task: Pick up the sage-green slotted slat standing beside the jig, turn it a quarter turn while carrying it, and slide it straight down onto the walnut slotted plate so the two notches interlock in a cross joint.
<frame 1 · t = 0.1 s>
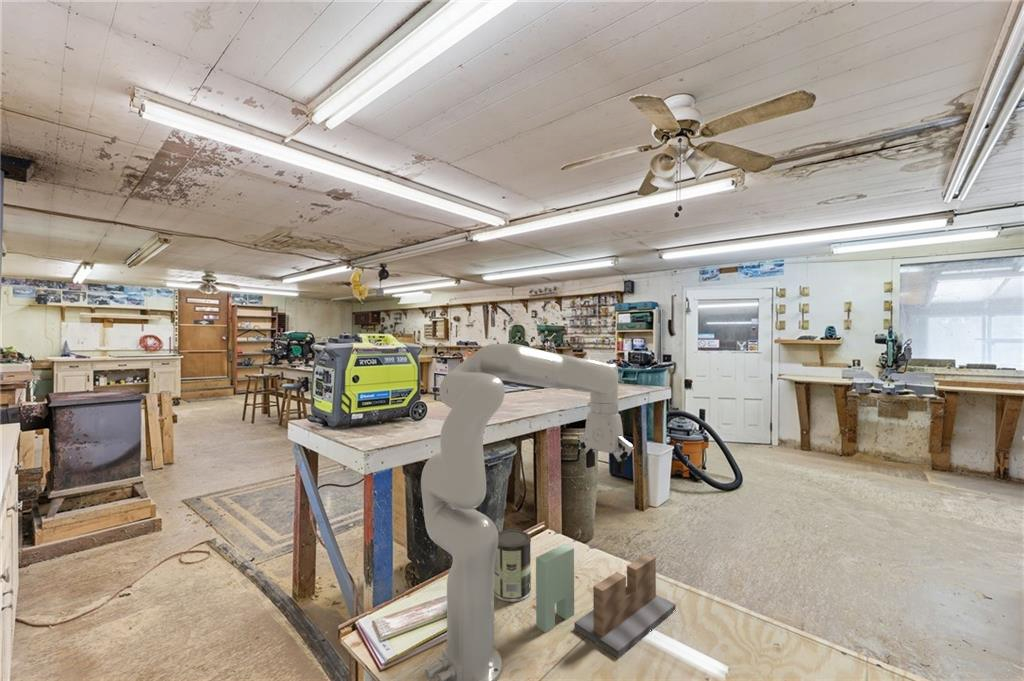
hand: (604, 470, 114), 31 cm above the table, tool pointing down, fingers open, 9 cm apart
coffee can: (511, 591, 111), on the table
green slat: (555, 620, 99), on the table
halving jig: (626, 619, 99), on the table
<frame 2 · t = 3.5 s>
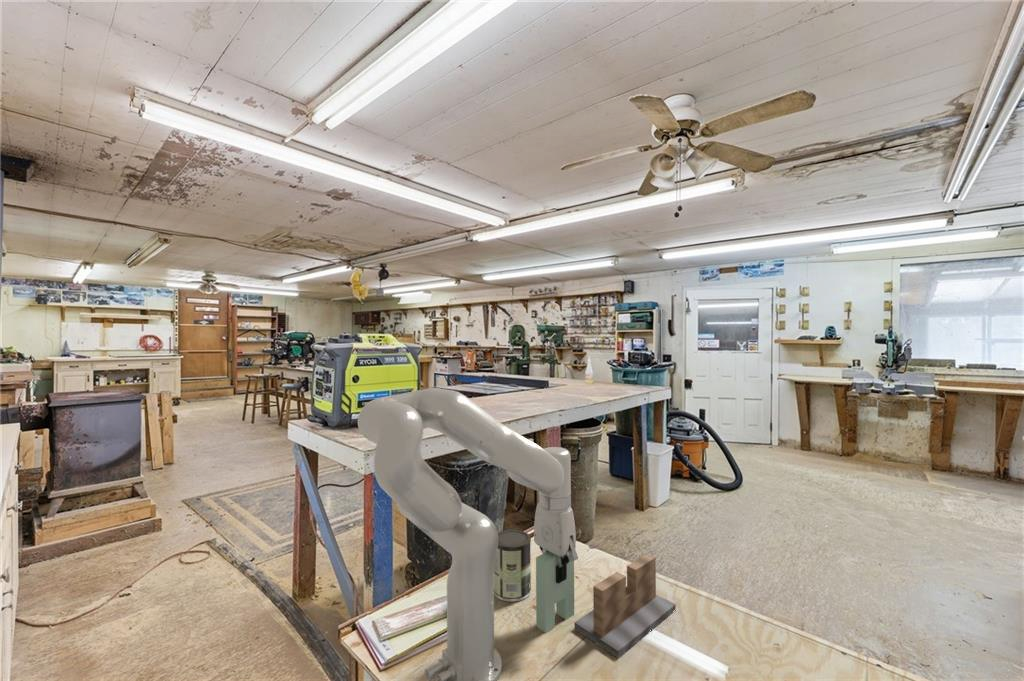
hand: (555, 577, 99), 10 cm above the table, tool pointing down, fingers closed on green slat, 3 cm apart
green slat: (555, 620, 99), on the table, touching gripper
everything else where it was.
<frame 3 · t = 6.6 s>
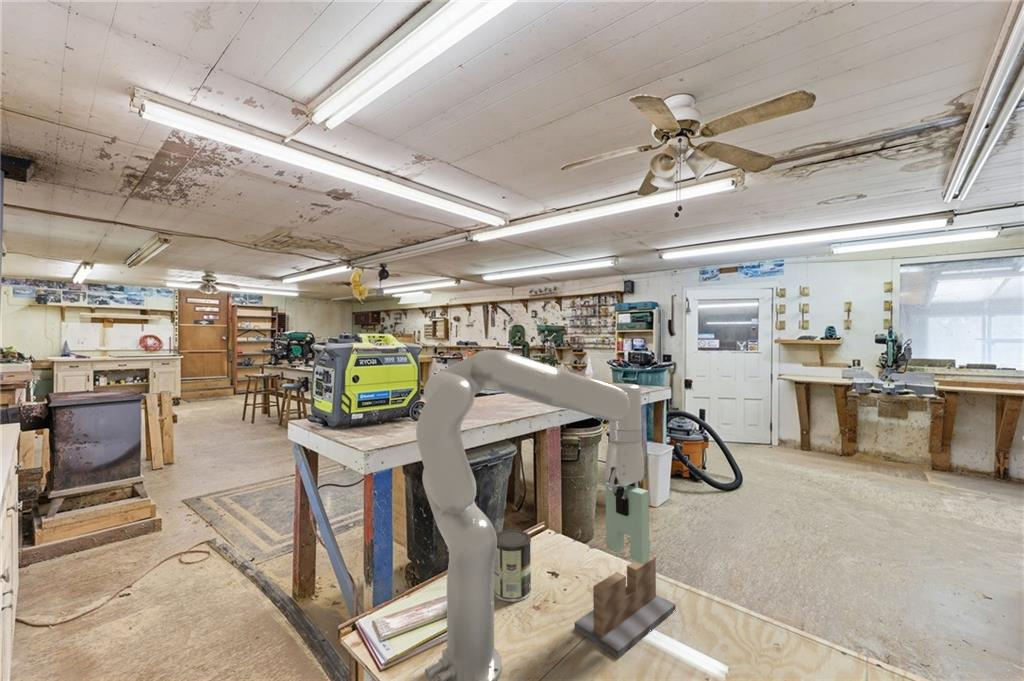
hand: (626, 511, 100), 26 cm above the table, tool pointing down, fingers closed on green slat, 3 cm apart
green slat: (627, 553, 100), point 16 cm above the table, touching gripper
everything else where it was.
when the fingers open (13 cm above the table, at t = 9.9 s): green slat drops 2 cm, resting on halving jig.
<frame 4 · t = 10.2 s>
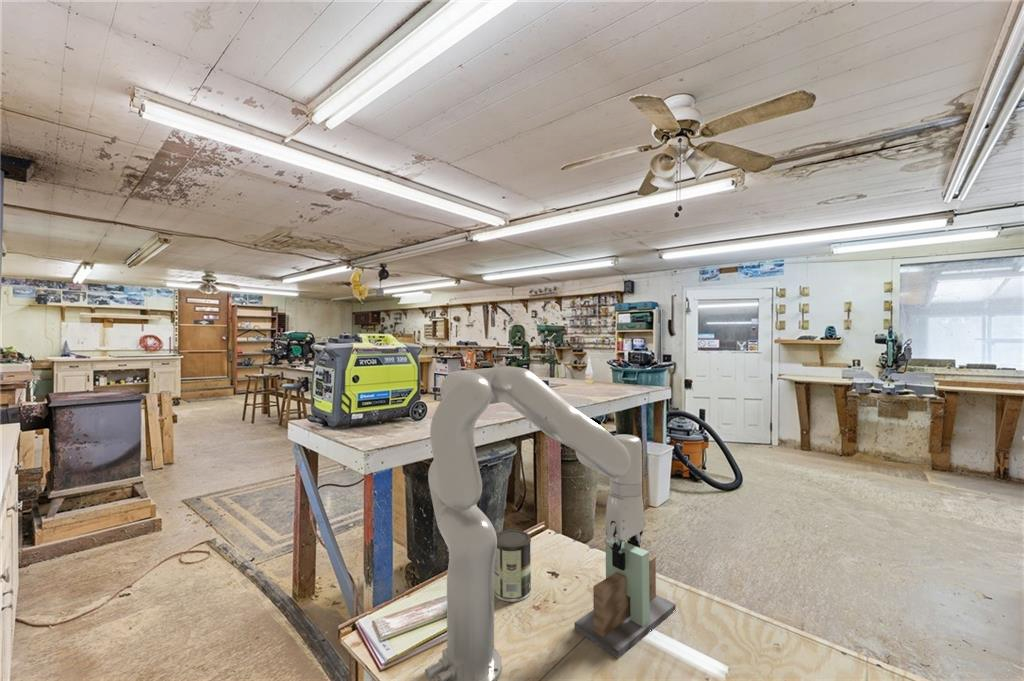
hand: (626, 562, 100), 13 cm above the table, tool pointing down, fingers open, 5 cm apart
green slat: (627, 613, 99), point 1 cm above the table, touching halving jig
everything else where it was.
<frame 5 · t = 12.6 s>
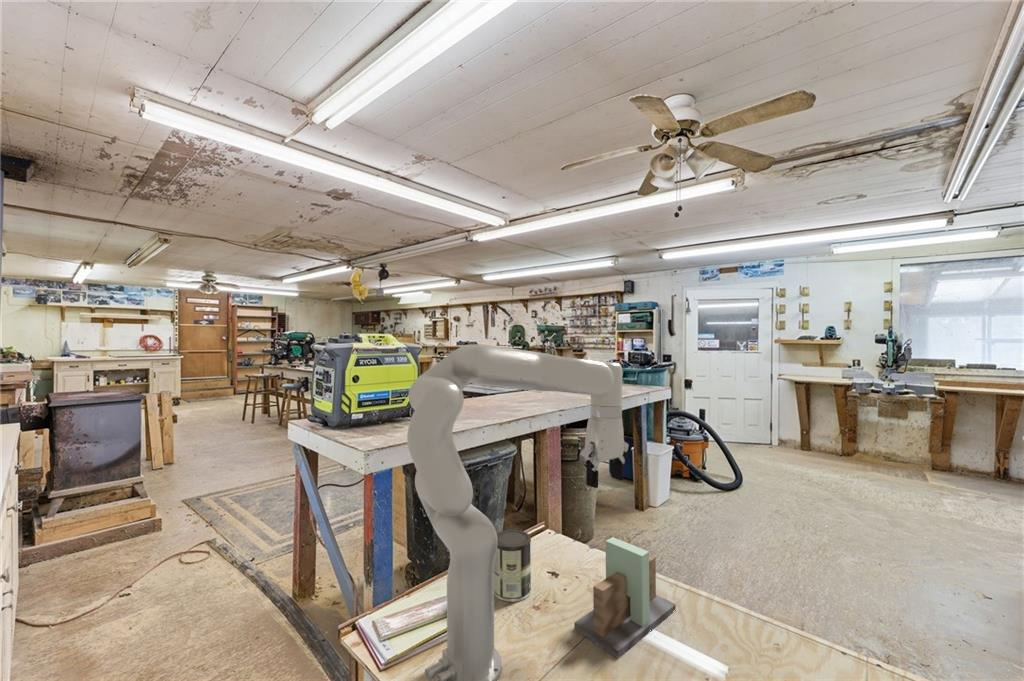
hand: (605, 482, 102), 32 cm above the table, tool pointing down, fingers open, 9 cm apart
nothing on the table moved.
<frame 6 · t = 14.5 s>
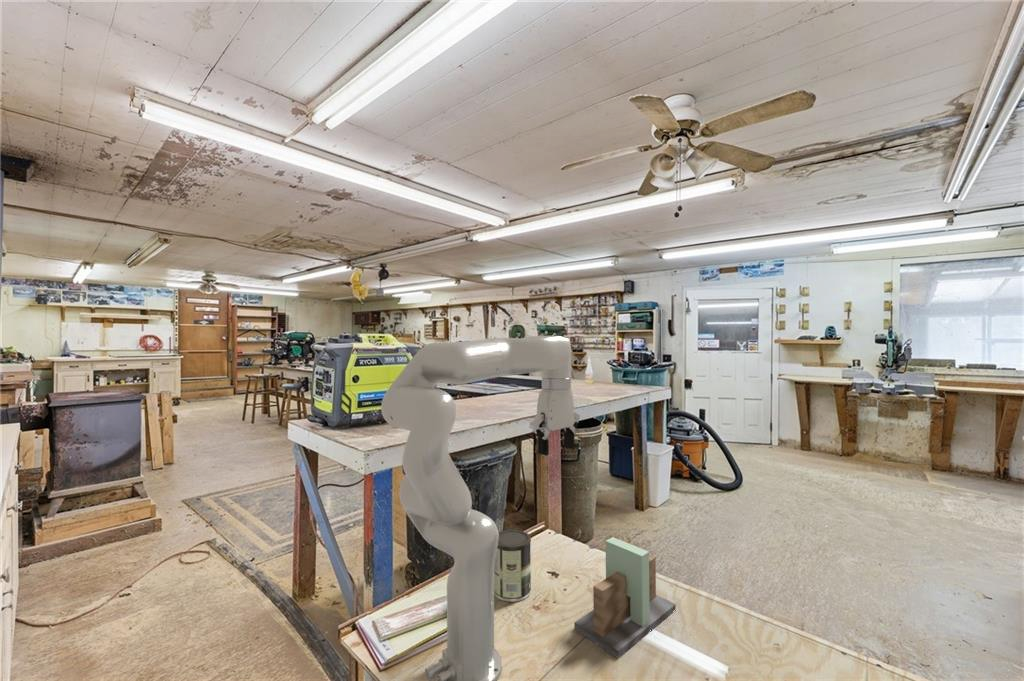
hand: (556, 451, 107), 38 cm above the table, tool pointing down, fingers open, 9 cm apart
nothing on the table moved.
at the end: green slat 0.2 cm off-centre on the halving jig, point 1.5 cm above the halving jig's base; green slat tilted 0°; the gripper is holding nothing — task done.
